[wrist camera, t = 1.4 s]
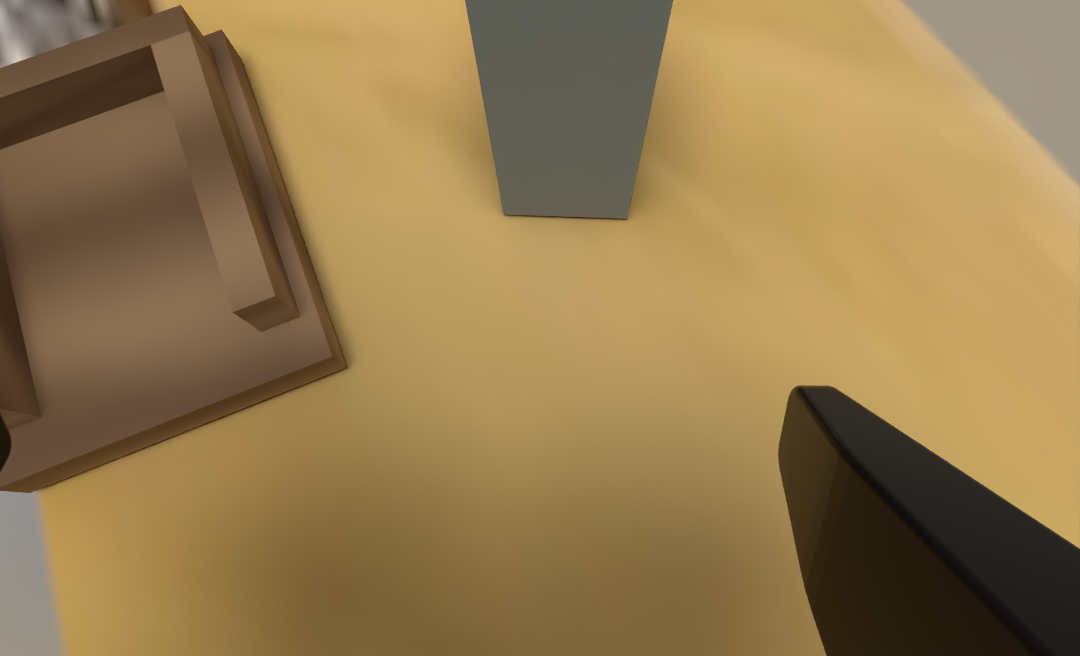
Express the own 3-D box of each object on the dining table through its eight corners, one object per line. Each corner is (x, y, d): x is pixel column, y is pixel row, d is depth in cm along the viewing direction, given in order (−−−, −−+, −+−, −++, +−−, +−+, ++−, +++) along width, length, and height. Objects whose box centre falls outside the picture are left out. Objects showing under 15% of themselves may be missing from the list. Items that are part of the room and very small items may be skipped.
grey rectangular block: (627, 218, 24) (689, -75, 12) (504, 214, 24) (450, -80, 12) (629, 80, 25) (688, -302, 14) (512, 77, 25) (473, -303, 14)
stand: (346, 367, 23) (309, 339, 19) (30, 492, 22) (-66, 485, 19) (240, 57, 26) (192, -14, 22) (-41, 158, 25) (-135, 100, 22)
